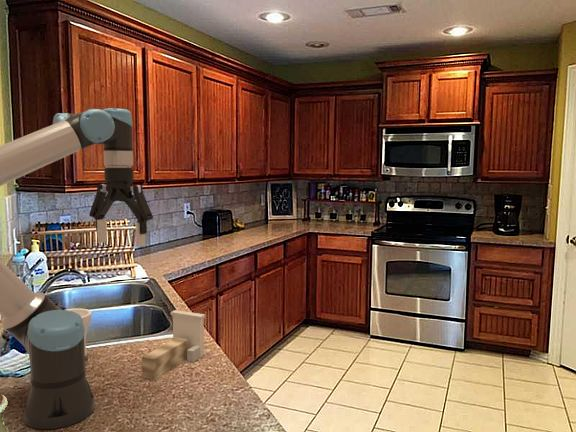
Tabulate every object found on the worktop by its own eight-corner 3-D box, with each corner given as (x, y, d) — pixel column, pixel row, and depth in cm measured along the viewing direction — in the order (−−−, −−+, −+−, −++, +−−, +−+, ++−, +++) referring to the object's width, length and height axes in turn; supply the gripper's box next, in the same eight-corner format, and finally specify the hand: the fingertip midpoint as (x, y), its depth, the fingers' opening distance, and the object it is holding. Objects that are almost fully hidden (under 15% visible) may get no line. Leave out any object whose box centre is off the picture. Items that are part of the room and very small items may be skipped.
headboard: (194, 362, 143) (193, 320, 141) (164, 356, 147) (163, 315, 146) (205, 355, 149) (205, 314, 147) (176, 349, 153) (175, 309, 151)
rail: (154, 380, 132) (153, 359, 131) (142, 377, 133) (141, 356, 132) (188, 358, 146) (188, 339, 146) (177, 356, 148) (177, 337, 147)
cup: (70, 350, 151) (68, 306, 150) (101, 354, 148) (99, 310, 147) (43, 364, 141) (41, 317, 139) (75, 369, 138) (73, 321, 136)
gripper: (165, 167, 129) (166, 245, 131) (94, 166, 139) (97, 239, 141) (146, 167, 122) (148, 249, 124) (73, 166, 132) (76, 242, 134)
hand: (121, 244), depth 133 cm, fingers open, 13 cm apart
